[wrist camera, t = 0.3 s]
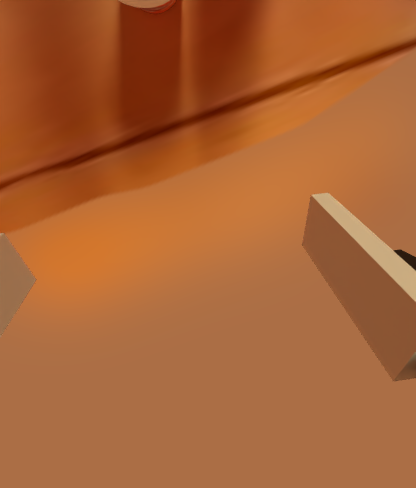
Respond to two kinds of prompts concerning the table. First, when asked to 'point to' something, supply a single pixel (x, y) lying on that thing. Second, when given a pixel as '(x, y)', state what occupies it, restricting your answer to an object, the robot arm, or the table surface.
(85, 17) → the table surface
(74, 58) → the table surface
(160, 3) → the coffee cup
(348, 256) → the robot arm
